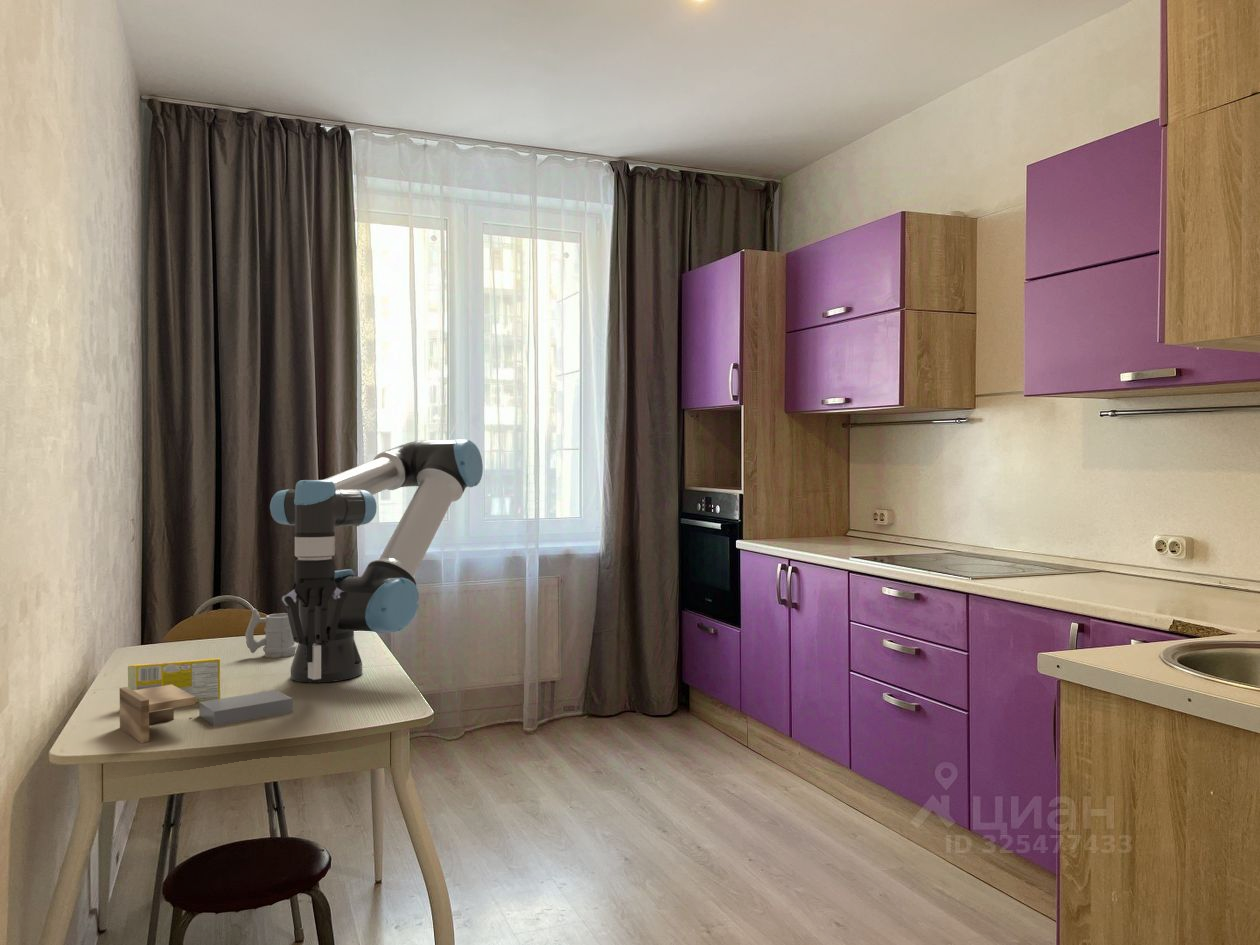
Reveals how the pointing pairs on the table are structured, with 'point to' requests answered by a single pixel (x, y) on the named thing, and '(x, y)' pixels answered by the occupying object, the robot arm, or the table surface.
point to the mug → (272, 635)
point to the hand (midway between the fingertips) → (314, 678)
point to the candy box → (179, 677)
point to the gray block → (245, 707)
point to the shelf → (149, 708)
